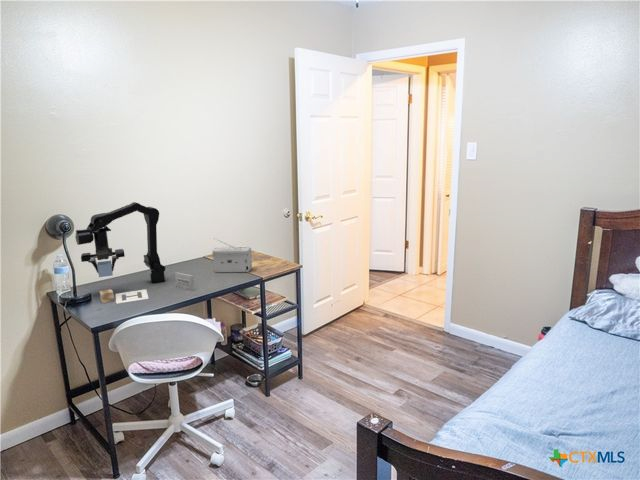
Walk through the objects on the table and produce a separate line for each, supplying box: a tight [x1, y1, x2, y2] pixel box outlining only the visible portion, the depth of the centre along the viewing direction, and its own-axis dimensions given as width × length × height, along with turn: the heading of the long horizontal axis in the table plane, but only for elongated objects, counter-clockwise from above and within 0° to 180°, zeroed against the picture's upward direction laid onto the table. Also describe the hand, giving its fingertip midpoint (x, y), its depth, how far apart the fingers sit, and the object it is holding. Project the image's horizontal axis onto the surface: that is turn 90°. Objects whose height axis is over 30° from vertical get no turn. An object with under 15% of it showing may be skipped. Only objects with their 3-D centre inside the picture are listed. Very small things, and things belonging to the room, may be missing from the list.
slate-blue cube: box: [96, 259, 114, 278], centre depth 216 cm, size 6×6×6 cm
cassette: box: [174, 271, 195, 291], centre depth 224 cm, size 12×2×8 cm, turn 60°
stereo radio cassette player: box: [211, 237, 253, 274], centre depth 249 cm, size 21×8×20 cm, turn 90°
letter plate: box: [115, 288, 149, 304], centre depth 214 cm, size 14×14×1 cm
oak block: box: [99, 288, 115, 304], centre depth 208 cm, size 5×5×5 cm
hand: (105, 272), depth 217 cm, fingers closed on slate-blue cube, 6 cm apart
